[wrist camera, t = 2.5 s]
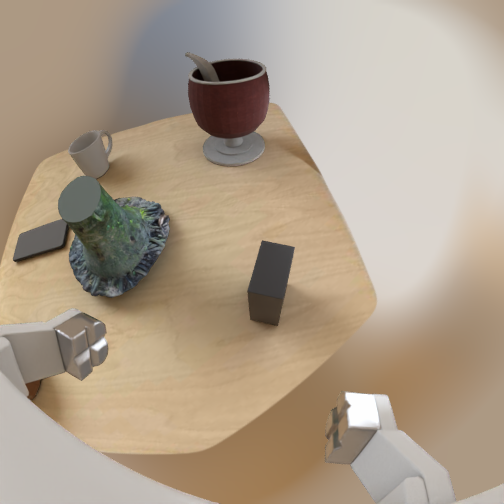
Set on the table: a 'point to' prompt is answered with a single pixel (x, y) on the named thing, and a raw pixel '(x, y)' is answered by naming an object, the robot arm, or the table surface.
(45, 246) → the smartphone
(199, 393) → the table surface
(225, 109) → the mate gourd
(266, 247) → the case
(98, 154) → the cup
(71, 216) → the tree stump
